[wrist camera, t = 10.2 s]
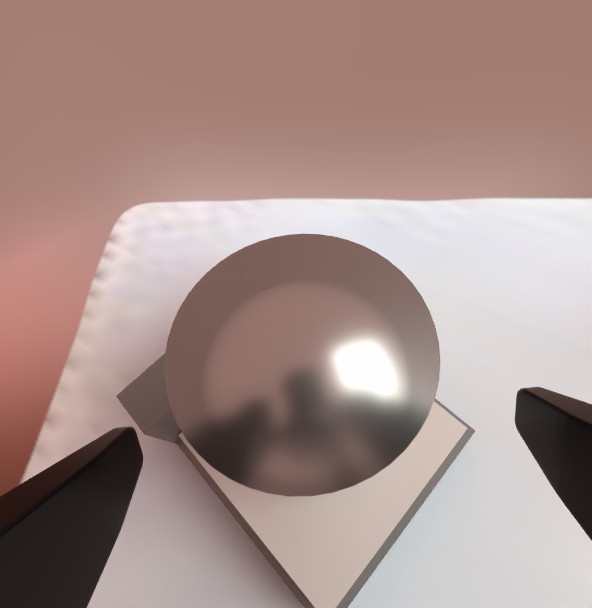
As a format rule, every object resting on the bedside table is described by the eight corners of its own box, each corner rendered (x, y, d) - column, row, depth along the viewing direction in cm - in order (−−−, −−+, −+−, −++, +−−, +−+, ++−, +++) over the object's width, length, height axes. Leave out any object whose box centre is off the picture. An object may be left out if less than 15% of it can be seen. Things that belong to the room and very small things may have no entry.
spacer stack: (365, 501, 15) (441, 531, 5) (257, 478, 16) (120, 461, 6) (374, 390, 18) (439, 244, 7) (279, 375, 18) (209, 224, 8)
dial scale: (327, 619, 16) (326, 678, 11) (162, 411, 21) (110, 388, 16) (461, 436, 19) (507, 418, 14) (288, 293, 24) (278, 244, 19)
